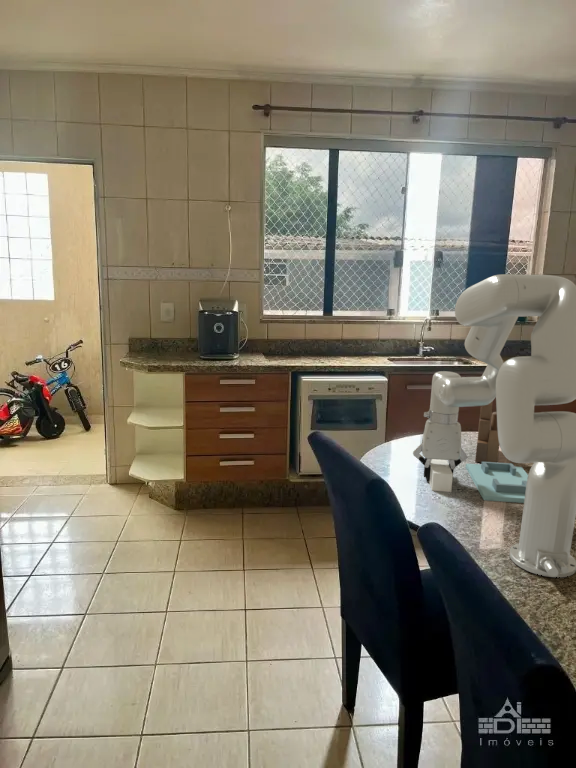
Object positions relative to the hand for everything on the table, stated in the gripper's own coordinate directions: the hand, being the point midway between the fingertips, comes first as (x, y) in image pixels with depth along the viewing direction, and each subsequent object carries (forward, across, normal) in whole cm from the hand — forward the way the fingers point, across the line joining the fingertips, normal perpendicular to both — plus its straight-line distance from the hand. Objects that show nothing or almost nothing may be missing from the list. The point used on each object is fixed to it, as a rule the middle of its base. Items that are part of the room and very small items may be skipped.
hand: (437, 479), depth 157 cm
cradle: (+1, +18, +1) cm, 18 cm away
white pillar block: (+1, 0, 0) cm, 1 cm away
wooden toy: (+1, +19, +25) cm, 31 cm away
